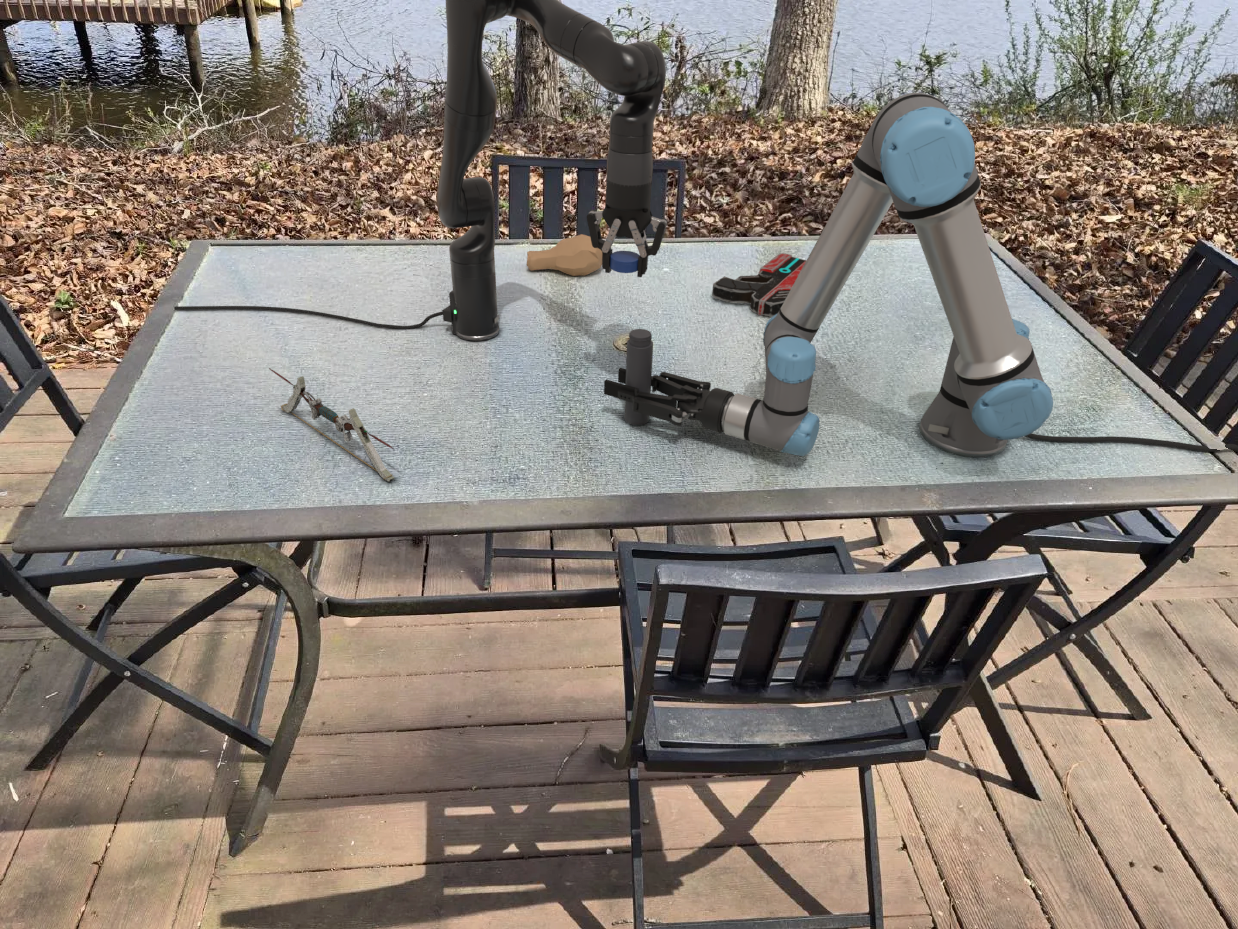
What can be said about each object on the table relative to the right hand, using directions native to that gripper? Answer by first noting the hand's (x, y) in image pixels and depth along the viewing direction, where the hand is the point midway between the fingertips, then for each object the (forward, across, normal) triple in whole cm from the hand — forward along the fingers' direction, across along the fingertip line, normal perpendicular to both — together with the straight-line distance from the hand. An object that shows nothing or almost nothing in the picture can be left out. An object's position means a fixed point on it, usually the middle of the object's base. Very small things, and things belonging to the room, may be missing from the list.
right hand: (612, 380), depth 162 cm
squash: (+44, +56, -6) cm, 72 cm away
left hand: (0, +4, +20) cm, 20 cm away
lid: (0, +4, +22) cm, 23 cm away
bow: (+36, -35, -6) cm, 51 cm away
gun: (-5, +72, -7) cm, 72 cm away
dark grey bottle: (-5, 0, -7) cm, 8 cm away
